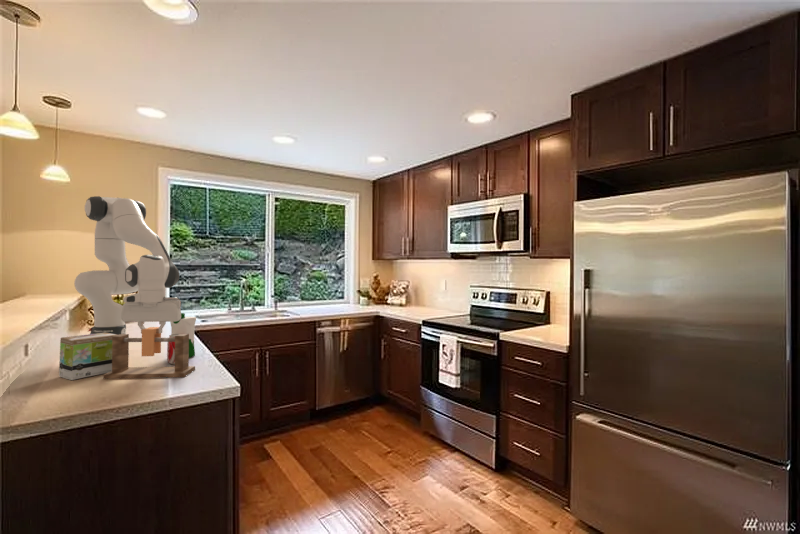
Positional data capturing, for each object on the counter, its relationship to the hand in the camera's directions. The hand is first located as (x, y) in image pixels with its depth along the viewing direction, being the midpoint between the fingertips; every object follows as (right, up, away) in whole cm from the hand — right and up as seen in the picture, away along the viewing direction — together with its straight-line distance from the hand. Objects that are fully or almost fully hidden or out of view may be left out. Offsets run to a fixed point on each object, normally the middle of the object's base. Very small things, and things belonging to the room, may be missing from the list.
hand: (151, 333), depth 148 cm
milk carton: (-4, -16, +28) cm, 32 cm away
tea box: (-23, -16, -1) cm, 28 cm away
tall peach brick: (0, -8, 0) cm, 8 cm away
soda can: (0, -16, +17) cm, 23 cm away
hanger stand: (0, -16, 0) cm, 16 cm away
